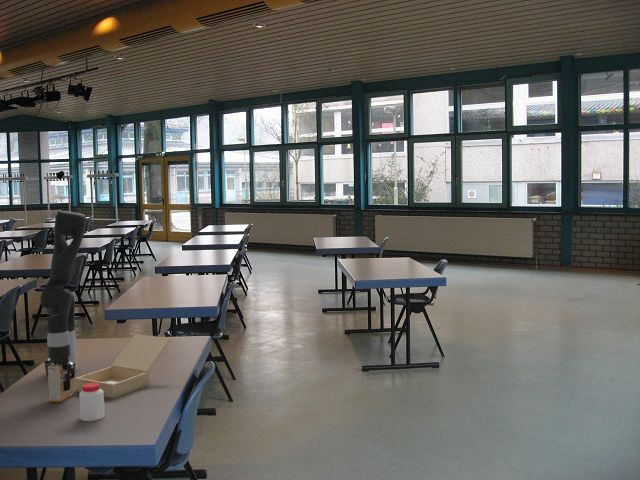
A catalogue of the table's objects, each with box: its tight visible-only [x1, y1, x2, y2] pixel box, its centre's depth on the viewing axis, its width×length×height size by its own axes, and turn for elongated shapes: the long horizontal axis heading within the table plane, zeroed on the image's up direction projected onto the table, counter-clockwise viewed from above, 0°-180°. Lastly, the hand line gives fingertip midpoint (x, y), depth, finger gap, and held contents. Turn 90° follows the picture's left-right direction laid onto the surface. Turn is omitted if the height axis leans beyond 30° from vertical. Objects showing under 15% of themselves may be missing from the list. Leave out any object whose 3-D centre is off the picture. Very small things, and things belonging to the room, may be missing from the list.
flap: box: [110, 333, 172, 373], centre depth 270 cm, size 19×17×1 cm
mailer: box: [74, 366, 150, 399], centre depth 257 cm, size 20×18×5 cm
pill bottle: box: [78, 383, 106, 422], centre depth 224 cm, size 8×8×11 cm
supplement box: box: [47, 361, 74, 403], centre depth 244 cm, size 8×5×13 cm, turn 168°
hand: (61, 389), depth 244 cm, fingers closed on supplement box, 5 cm apart
